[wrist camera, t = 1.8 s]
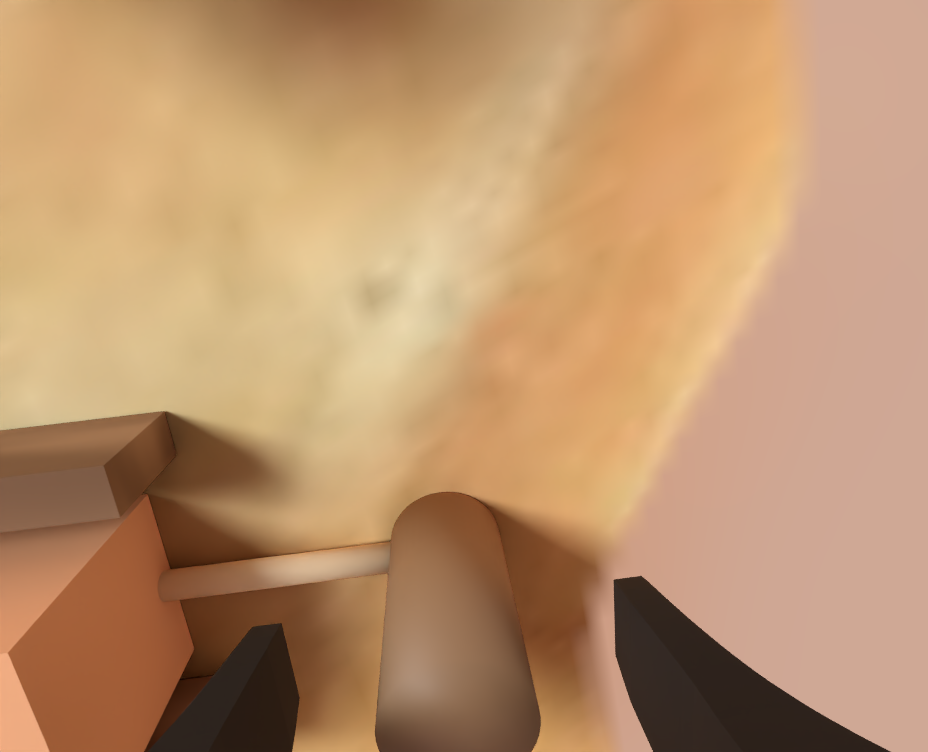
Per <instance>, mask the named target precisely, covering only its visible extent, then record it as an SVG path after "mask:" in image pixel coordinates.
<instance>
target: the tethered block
mask: <svg viewBox="0 0 928 752" xmlns="http://www.w3.org/2000/svg"><path fill="white" fill-rule="evenodd" d="M385 573H388V583H387V595H386V606H385V618H384V630H383V642H382V654H381V666H380V677H379V689H378V701H377V713H376V725H375V737H376V743H377V746H378V749H379V751H380V752H531V751H532V750H533V748H534V746H535V744H536V742H537V739H538V736H539V732H540V726H541V717H540V711H539V706H538V702H537V698H536V693H535V689H534V684H533V680H532V675H531V671H530V666H529V662H528V657H527V653H526V649H525V644H524V640H523V635H522V631H521V626H520V622H519V617H518V613H517V609H516V604H515V600H514V595H513V591H512V586H511V582H510V577H509V573H508V568H507V564H506V560H505V555H504V551H503V546H502V542H501V537H500V533H499V528H498V525H497V522H496V520H495V518H494V516H493V515H492V513H491V512H490V511H489V510H488V508H487V507H486V506H484V505H483V504H482V503H481V502H479V501H478V500H476V499H474V498H472V497H470V496H467V495H464V494H460V493H454V492H441V493H435V494H430V495H427V496H424V497H422V498H420V499H418V500H416V501H415V502H413V503H412V504H410V505H409V506H408V507H407V508H406V509H405V510H404V511H403V512H402V513H401V514H400V516H399V517H398V519H397V520H396V522H395V525H394V527H393V531H392V535H391V542H383V543H376V544H368V545H360V546H352V547H344V548H336V549H328V550H320V551H312V552H304V553H297V554H289V555H281V556H273V557H265V558H257V559H249V560H241V561H233V562H225V563H218V564H210V565H202V566H194V567H186V568H178V569H170V567H169V563H168V560H167V557H166V553H165V550H164V547H163V543H162V540H161V537H160V533H159V530H158V527H157V523H156V520H155V517H154V514H153V510H152V507H151V504H150V500H149V497H148V494H145V495H140V496H139V497H138V498H137V500H136V501H135V502H134V503H133V504H132V505H131V506H130V507H129V508H128V510H127V511H126V512H125V513H124V514H123V515H122V516H121V517H120V518H114V519H106V520H98V521H90V522H82V523H74V524H66V525H57V526H49V527H41V528H33V529H25V530H17V531H9V532H1V533H0V752H144V751H145V749H146V747H147V745H148V743H149V741H150V738H151V736H152V734H153V732H154V730H155V728H156V726H157V724H158V722H159V720H160V718H161V716H162V714H163V712H164V710H165V708H166V706H167V704H168V702H169V700H170V698H171V695H172V693H173V691H174V689H175V687H176V685H177V683H178V681H179V679H180V677H181V675H182V673H183V671H184V669H185V667H186V665H187V663H188V661H189V659H190V657H191V655H192V652H193V650H194V646H193V643H192V639H191V636H190V633H189V630H188V626H187V623H186V620H185V616H184V613H183V610H182V606H181V603H180V600H183V599H190V598H198V597H206V596H214V595H222V594H229V593H237V592H245V591H253V590H261V589H268V588H276V587H284V586H292V585H299V584H307V583H315V582H323V581H331V580H338V579H346V578H354V577H362V576H370V575H377V574H385Z"/></svg>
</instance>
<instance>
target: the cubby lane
mask: <svg viewBox="0 0 928 752" xmlns="http://www.w3.org/2000/svg"><path fill="white" fill-rule="evenodd" d="M175 456H176V451H175V447H174V444H173V440H172V437H171V433H170V429H169V426H168V422H167V419H166V415H165V411H163V412H154V413H146V414H137V415H129V416H120V417H112V418H103V419H95V420H87V421H78V422H70V423H61V424H53V425H44V426H36V427H28V428H19V429H11V430H2V431H0V533H1V532H9V531H17V530H25V529H33V528H41V527H49V526H57V525H66V524H74V523H82V522H90V521H98V520H106V519H114V518H120V517H121V516H122V515H123V514H124V513H125V512H126V511H127V510H128V508H129V507H130V506H131V505H132V504H133V503H134V502H135V501H136V500H137V498H138V497H139V496H140V495H141V494H142V493H143V492H144V491H145V490H146V488H147V487H148V486H149V485H150V484H151V483H152V482H153V481H154V480H155V478H156V477H157V476H158V475H159V474H160V473H161V472H162V471H163V470H164V468H165V467H166V466H167V465H168V464H169V463H170V462H171V461H172V460H173V458H174V457H175ZM212 677H213V676H207V677H199V678H192V679H184V680H179V681H178V683H177V685H176V687H175V689H174V691H173V693H172V695H171V698H170V700H169V702H168V704H167V706H166V708H165V710H164V712H163V714H162V716H161V718H160V720H159V722H158V724H157V726H156V728H155V730H154V732H153V734H152V736H151V738H150V741H149V743H148V745H147V747H146V749H145V751H144V752H148V751H149V750H150V748H151V747H152V746H153V745H154V744H155V743H156V742H157V741H158V740H159V738H160V737H161V736H162V735H163V734H164V733H165V732H166V731H167V730H168V728H169V727H170V726H171V725H172V724H173V723H174V722H175V721H176V720H177V719H178V717H179V716H180V715H181V714H182V713H183V712H184V710H185V709H186V708H187V707H188V706H189V705H190V703H191V702H192V701H193V700H194V699H195V697H196V696H197V695H198V694H199V693H200V691H201V690H202V689H203V688H204V687H205V685H206V684H207V683H208V682H209V680H210V679H211V678H212Z"/></svg>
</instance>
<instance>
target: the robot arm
mask: <svg viewBox="0 0 928 752" xmlns="http://www.w3.org/2000/svg"><path fill="white" fill-rule="evenodd" d="M614 611H615V652H616V658H617V661H618V664H619V667H620V670H621V673H622V677H623V680H624V683H625V686H626V689H627V692H628V695H629V698H630V700H631V703H632V706H633V708H634V710H635V712H636V715H637V717H638V719H639V721H640V723H641V726H642V728H643V730H644V732H645V734H646V737H647V739H648V741H649V743H650V746H651V748H652V750H653V752H890V751H888V750H886V749H884V748H882V747H880V746H878V745H876V744H874V743H872V742H871V741H868V740H866V739H865V738H863V737H861V736H859V735H857V734H855V733H853V732H852V731H850V730H848V729H846V728H845V727H843V726H841V725H839V724H837V723H836V722H834V721H832V720H830V719H829V718H827V717H825V716H823V715H821V714H820V713H818V712H816V711H815V710H813V709H811V708H810V707H808V706H806V705H805V704H803V703H802V702H800V701H798V700H797V699H795V698H794V697H792V696H791V695H789V694H788V693H786V692H785V691H783V690H782V689H780V688H778V687H777V686H775V685H774V684H772V683H771V682H769V681H768V680H766V679H765V678H764V677H762V676H761V675H759V674H758V673H756V672H755V671H754V670H752V669H751V668H750V667H748V666H747V665H746V664H744V663H743V662H742V661H740V660H739V659H738V658H736V657H735V656H734V655H732V654H731V653H730V652H729V651H727V650H726V649H725V648H724V647H722V646H721V645H720V644H718V643H717V642H716V641H715V640H714V639H713V638H711V637H710V636H709V635H708V634H707V633H705V632H704V631H703V630H702V629H701V628H699V627H698V626H697V625H696V624H695V623H693V622H692V621H691V620H690V619H689V618H687V616H685V615H684V614H683V613H682V612H681V611H680V610H679V609H677V608H676V607H675V606H674V605H673V604H672V603H671V602H670V601H669V600H668V599H666V598H665V597H664V596H663V595H662V594H661V593H660V592H658V590H657V589H656V588H654V587H653V586H652V585H651V584H650V583H649V582H648V581H647V580H646V579H644V578H643V577H642V576H638V577H630V578H623V579H615V580H614ZM298 705H299V694H298V690H297V685H296V681H295V677H294V673H293V669H292V665H291V661H290V657H289V653H288V648H287V644H286V640H285V636H284V632H283V628H282V624H281V623H279V624H271V625H264V626H256V627H252V629H251V630H250V631H249V632H248V633H247V635H246V636H245V637H244V638H243V639H242V641H241V642H240V643H239V644H238V646H237V647H236V648H235V649H234V651H233V652H232V653H231V654H230V656H229V657H228V658H227V659H226V661H225V662H224V663H223V664H222V666H221V667H220V668H219V669H218V671H217V672H216V673H215V674H214V676H213V677H212V678H211V679H210V680H209V682H208V683H207V684H206V685H205V687H204V688H203V689H202V690H201V691H200V693H199V694H198V695H197V696H196V697H195V699H194V700H193V701H192V702H191V703H190V705H189V706H188V707H187V708H186V709H185V710H184V712H183V713H182V714H181V715H180V716H179V717H178V719H177V720H176V721H175V722H174V723H173V724H172V725H171V726H170V727H169V728H168V730H167V731H166V732H165V733H164V734H163V735H162V736H161V737H160V738H159V740H158V741H157V742H156V743H155V744H154V745H153V746H152V747H151V748H150V750H149V751H148V752H292V749H293V742H294V735H295V728H296V721H297V713H298Z"/></svg>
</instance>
